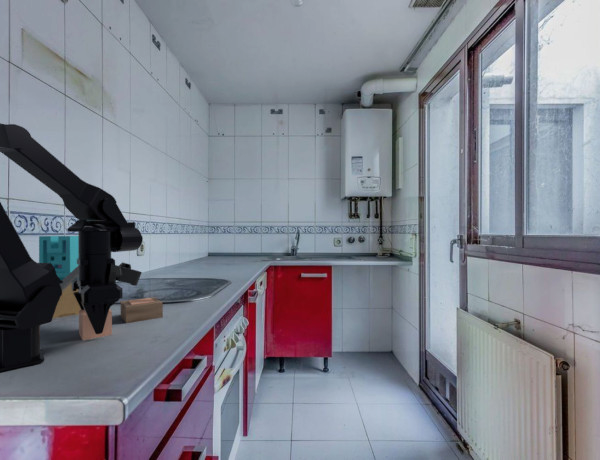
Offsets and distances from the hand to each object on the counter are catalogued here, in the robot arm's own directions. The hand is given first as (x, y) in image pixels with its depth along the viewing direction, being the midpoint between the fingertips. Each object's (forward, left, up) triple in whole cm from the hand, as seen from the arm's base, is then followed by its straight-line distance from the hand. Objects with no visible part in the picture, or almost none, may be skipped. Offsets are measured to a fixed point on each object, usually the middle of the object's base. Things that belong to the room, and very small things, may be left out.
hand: (95, 329), depth 65 cm
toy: (+39, +2, -1) cm, 39 cm away
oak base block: (+8, -11, -1) cm, 14 cm away
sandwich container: (+25, +4, -2) cm, 26 cm away
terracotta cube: (0, 0, -1) cm, 1 cm away
